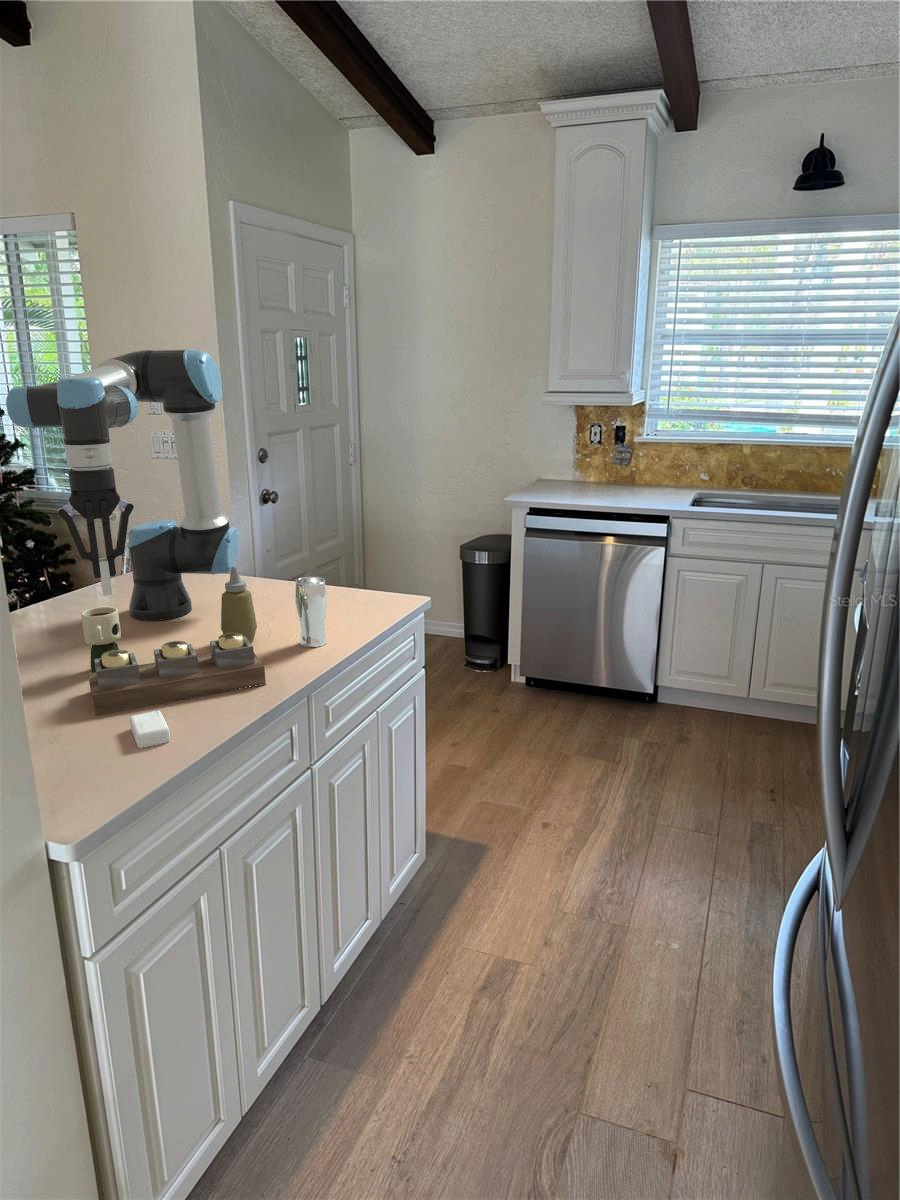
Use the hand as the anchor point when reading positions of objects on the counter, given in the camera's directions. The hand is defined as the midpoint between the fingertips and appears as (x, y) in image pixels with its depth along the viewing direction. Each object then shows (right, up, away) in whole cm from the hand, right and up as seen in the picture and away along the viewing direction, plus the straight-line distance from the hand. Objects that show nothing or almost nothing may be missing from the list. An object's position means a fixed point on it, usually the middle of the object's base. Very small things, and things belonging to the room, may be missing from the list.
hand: (107, 593), depth 154 cm
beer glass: (+33, -11, +36) cm, 50 cm away
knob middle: (+10, -15, +10) cm, 20 cm away
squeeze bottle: (+16, -11, +36) cm, 41 cm away
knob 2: (+20, -13, +14) cm, 28 cm away
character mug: (-8, -16, +20) cm, 27 cm away
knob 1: (0, -16, +5) cm, 17 cm away
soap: (+11, -26, -9) cm, 29 cm away
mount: (+10, -19, +11) cm, 24 cm away
